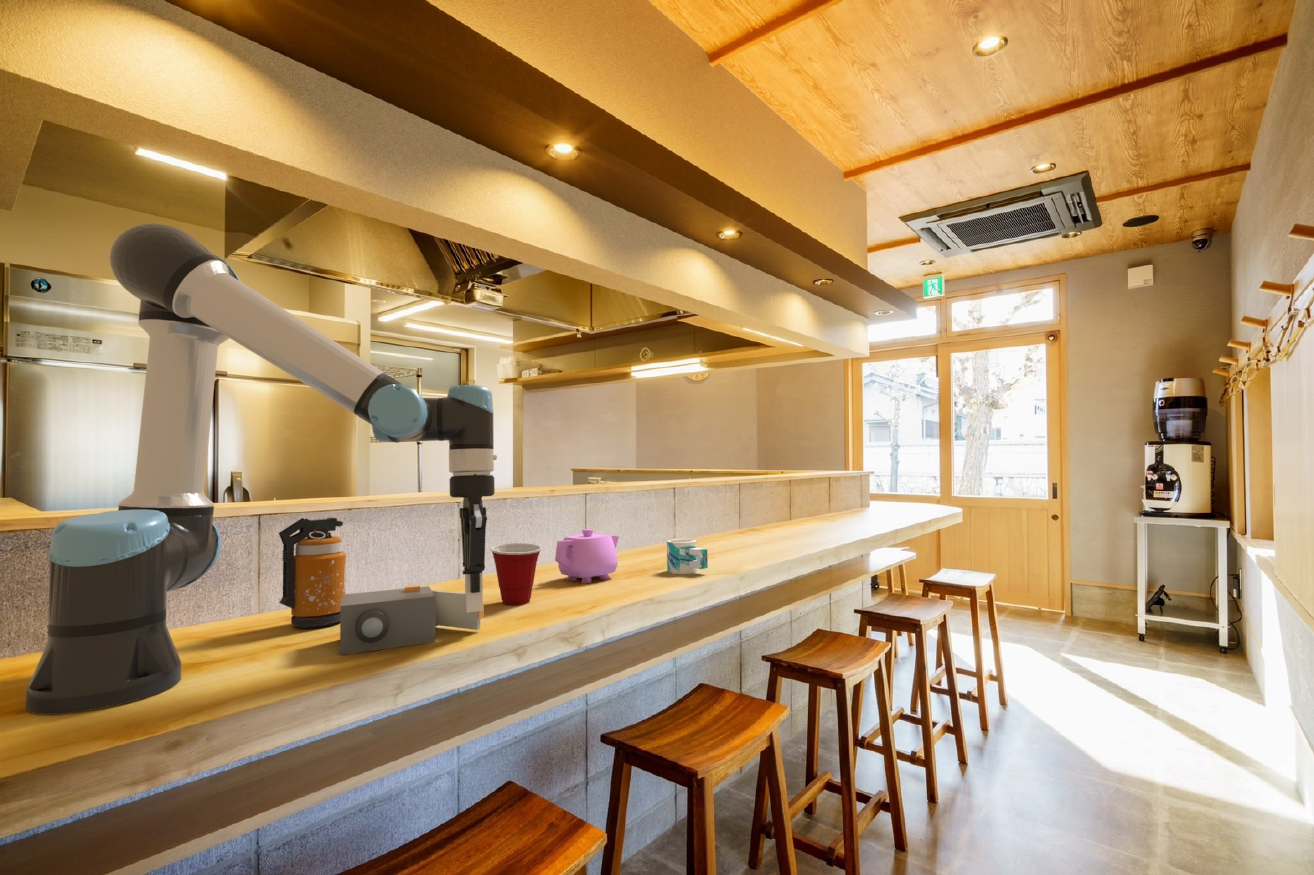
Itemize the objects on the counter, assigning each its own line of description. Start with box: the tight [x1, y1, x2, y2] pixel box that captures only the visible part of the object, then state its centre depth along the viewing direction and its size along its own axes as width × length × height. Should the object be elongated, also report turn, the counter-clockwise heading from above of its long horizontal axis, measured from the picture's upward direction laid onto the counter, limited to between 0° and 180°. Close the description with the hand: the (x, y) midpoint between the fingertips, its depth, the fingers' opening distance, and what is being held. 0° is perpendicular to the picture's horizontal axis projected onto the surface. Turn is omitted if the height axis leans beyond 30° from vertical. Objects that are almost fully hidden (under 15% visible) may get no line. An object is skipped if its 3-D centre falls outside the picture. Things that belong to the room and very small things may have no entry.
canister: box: [278, 517, 347, 629], centre depth 115 cm, size 9×11×20 cm
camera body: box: [339, 584, 436, 656], centre depth 102 cm, size 14×12×8 cm
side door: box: [432, 589, 485, 631], centre depth 109 cm, size 2×11×6 cm, turn 66°
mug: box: [666, 538, 708, 575], centre depth 164 cm, size 8×12×8 cm
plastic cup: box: [489, 542, 543, 606], centre depth 130 cm, size 11×11×12 cm
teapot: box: [554, 528, 619, 584], centre depth 157 cm, size 20×12×13 cm, turn 136°
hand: (474, 610), depth 105 cm, fingers closed
